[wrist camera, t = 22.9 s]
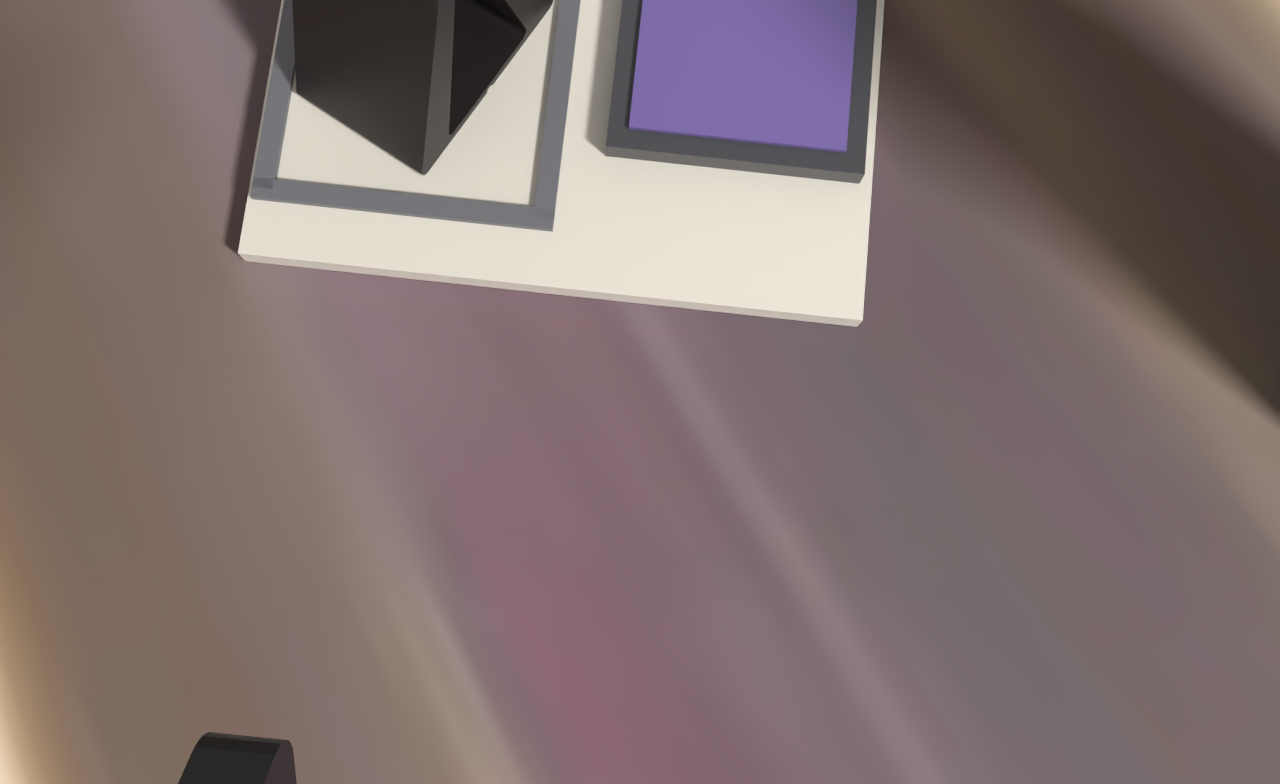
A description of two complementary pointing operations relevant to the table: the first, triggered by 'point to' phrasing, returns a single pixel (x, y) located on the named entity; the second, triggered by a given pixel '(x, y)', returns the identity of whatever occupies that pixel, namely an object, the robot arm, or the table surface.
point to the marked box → (414, 204)
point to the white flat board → (577, 204)
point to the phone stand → (407, 65)
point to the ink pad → (745, 85)
